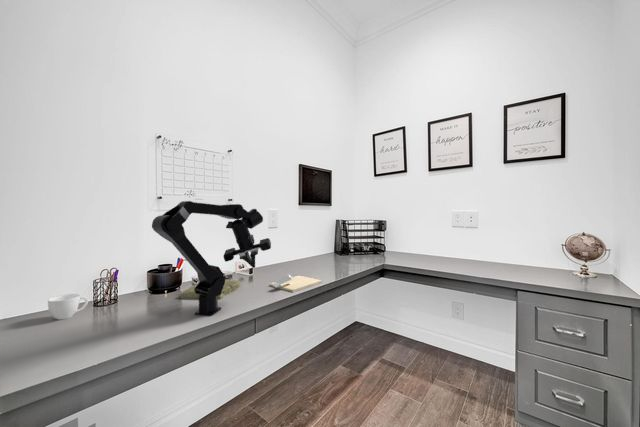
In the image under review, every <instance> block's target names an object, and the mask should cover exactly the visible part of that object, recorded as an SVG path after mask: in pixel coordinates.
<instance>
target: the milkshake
mask: <svg viewBox="0 0 640 427" xmlns="http://www.w3.org/2000/svg"><path fill="white" fill-rule="evenodd" d="M292 277H293V276H292V275H290V274H288V273H287V274H285V275H284V276H282V277H280V278H279V279H278V278H277V280H275V281H274V286H275V287H274V288H276V289H280V287H283V286H285V285H288V284H291V283H292Z"/></svg>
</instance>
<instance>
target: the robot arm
mask: <svg viewBox="0 0 640 427" xmlns="http://www.w3.org/2000/svg"><path fill="white" fill-rule="evenodd" d="M192 214H197V215H199V214H200V215H209V216H211V215H214V216H218V217H221V218H225V219H227V220H233V221H228V222H227V224H226V226H225V228H226V229H229V230H232V233H233V235H234V238H235V241H236V244H237V245H238V248H239V249H236V248H235V247H232V248H227V249H226V250H224V251H225V252H224V253H223V256H222V257H223V259H224V262H230V261H233V260H234V258H235V256H238V255H239V259H240V260H243V261H245V262H246V263H247V264H248V265H250V267H251V268H252V269H255V268H256V256H257V255H258V254H259V249H260V251H262V252H264V251H265V252H266V251H268V250H271V248H272V241H271V240H270V239H271V238H267V237H266V238H263V239H260V240H259V242H258V243H255V239H254V234H251V232H250V230H251V229H254V228H255V227H257V226H258V225H260V224H261V223H263V221H264V216H263V215H262V214H261V213H260V212H259V211H258V209H257V208H252V209H249V211H247V209H244V207H243V205H242V204H239V203H234V204H232V203H231V204H221V205H220V204H211V203H204V202H203V203H202V202H197V201H196V202H195V201H191V200H185V201H180V202H179V203H178V204H177V205H176V206H173V207H172V208H171V209H168V210H167V211H166V212H165V213H163V214H162V215H157V216H156V217H155V218H154V219H153V221H152V224H151V228H152V230H153V231H154V232H155V233H156V234H158V235H159V236H160V237H162V238H163V239H165V240H166V241H168V242H169V243H171V244H172V246H174V248H176V250H177V251H178V252H179V253H180V255H181V256H182V257H183V258H184V259H185V260H186V261H187V262H188V264H189V265H190V266H191V267H192V268H193V269H194V271H195V272H196V273H197V274H196V275H197V279H198V283H196V284H197V286H196V287H195V288H194V291H195V293H196V294H199V295H200V296H199V299H198V310H197V311H196V312H194V314H195V315H200V316H201V315H202V316H213V315H215V314H216V313H218V312H219V311H221V310H222V306H221V307H220V306H219V307H218V303H219V302H218V300H219V299H218V296H219V295H221V293H222V289H223V286H224V284H225V280H226V277H225V275H226V274H225V273H224V272H222V270H221V268H220V267H219V266H216V265H212V264H209V263H208V262H207V260H206V259H205V258H204V257H203V256H202V254H201V253H200V252H199V251H198V250H197V248H196V247H195V246H194V244H193V243H192V242H191V241H190V239H188V237H187V236H186V232H185V228H184V226H183V224H184V223H186V221H187V220H188V218H189V217H190V216H191V215H192ZM249 229H250V230H249ZM249 252H250V253H249Z"/></svg>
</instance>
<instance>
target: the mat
mask: <svg viewBox="0 0 640 427" xmlns="http://www.w3.org/2000/svg"><path fill="white" fill-rule="evenodd" d="M291 277H292V283H291V284H288V285H285V286H283V287H280V288H279V289H280V290H283V291H287V292H291V293H295V292H297V291H301V290H304V289H306V288H310V287H314V286H316V285H319V284H323V280H321V279H316V278H312V277H307V276H302V275H297V276H296V275H295V276H291ZM274 282H275V281H274ZM274 282H271V283H269V287H272V288H276V287H275V286H274Z"/></svg>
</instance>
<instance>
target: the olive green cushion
mask: <svg viewBox="0 0 640 427" xmlns="http://www.w3.org/2000/svg"><path fill="white" fill-rule="evenodd" d="M197 284H198V283H196V284H194V285H193V286H190V287H189V288H187V289H184V290H183V291H182V292H181V293H180V299H186V300H187V299H189V300H191V299H193V300H199V296H200V295H199V294H196V293H195V291H194V288H195V287H196V286H197ZM241 287H242V283H241V281H240V280H229V279H225V284H224V286H223V289H222V293H221V295H219V296H218V300H222V299H223V298H224V297H225V296H227V295H229V294H232V293H234V292H235V291H237V290H238V289H239V288H241Z"/></svg>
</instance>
